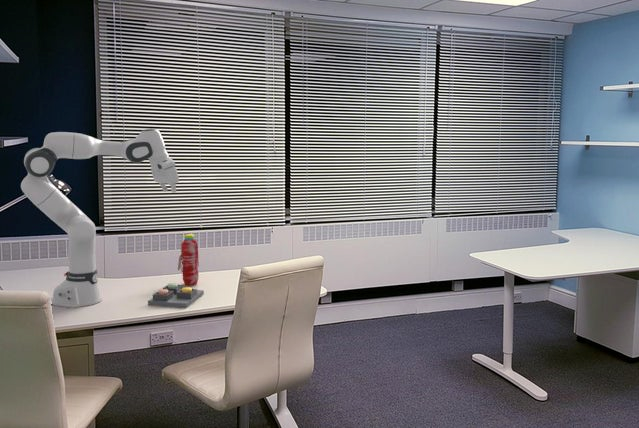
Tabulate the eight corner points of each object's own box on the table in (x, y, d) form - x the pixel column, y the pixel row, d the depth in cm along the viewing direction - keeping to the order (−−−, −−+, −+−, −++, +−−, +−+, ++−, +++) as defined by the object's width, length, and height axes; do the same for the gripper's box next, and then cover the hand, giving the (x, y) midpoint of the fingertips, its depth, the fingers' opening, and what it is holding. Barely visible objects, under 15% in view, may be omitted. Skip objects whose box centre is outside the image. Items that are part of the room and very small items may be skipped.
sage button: (166, 289, 271) (166, 285, 271) (170, 286, 276) (170, 282, 275) (175, 290, 271) (175, 285, 270) (179, 287, 275) (179, 283, 274)
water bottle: (173, 284, 291) (171, 234, 287) (181, 280, 299) (180, 231, 295) (194, 287, 288) (193, 236, 283) (202, 282, 295) (201, 233, 291)
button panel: (148, 305, 260) (147, 295, 259) (167, 292, 279) (167, 282, 279) (186, 307, 257) (186, 298, 256) (203, 294, 276) (203, 285, 275)
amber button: (180, 294, 265) (180, 289, 265) (184, 291, 269) (184, 286, 269) (189, 294, 264) (189, 290, 264) (193, 291, 268) (193, 287, 268)
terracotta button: (156, 296, 262) (156, 291, 261) (160, 293, 266) (160, 288, 266) (165, 296, 261) (165, 292, 260) (170, 293, 265) (169, 289, 265)
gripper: (145, 164, 275) (154, 192, 279) (163, 166, 259) (173, 195, 263) (157, 160, 278) (166, 187, 282) (176, 161, 262) (185, 190, 266)
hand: (170, 191), depth 273 cm, fingers open, 8 cm apart
